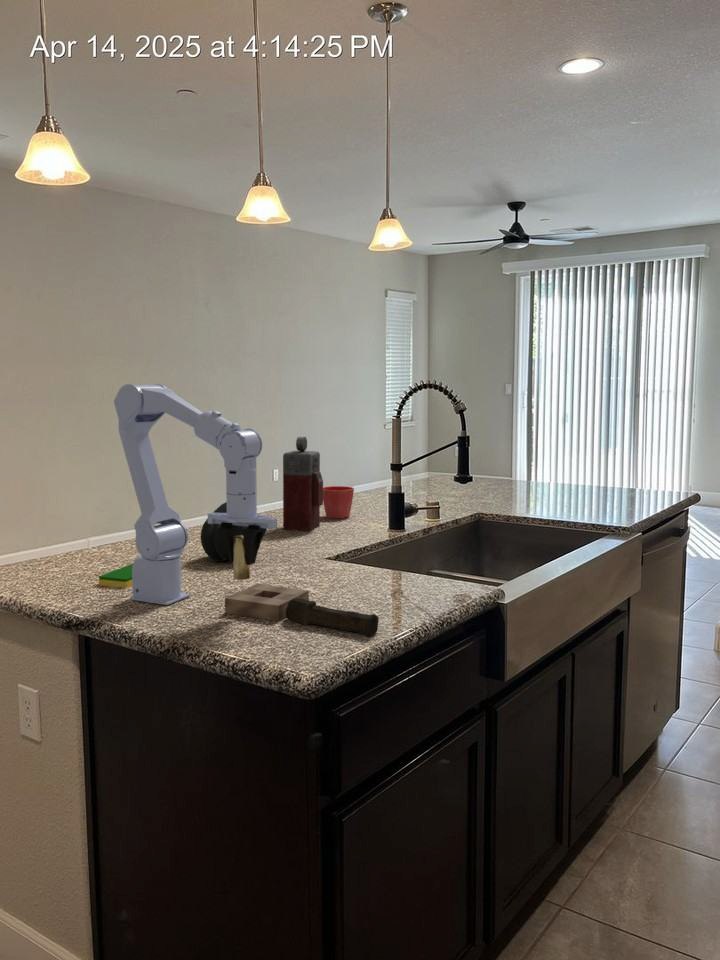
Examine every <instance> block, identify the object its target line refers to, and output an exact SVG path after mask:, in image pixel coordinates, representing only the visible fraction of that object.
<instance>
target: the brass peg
mask: <svg viewBox="0 0 720 960" xmlns="http://www.w3.org/2000/svg"><path fill="white" fill-rule="evenodd" d="M232 564H233V570H232V571H233V572H232V573H233V576H232V577H233V579H234V580H237V581H239V580H240V581H243V580H244V581H245V580H249V579H251V565H247V564H246V549H245V542H244V537H243V535H238V536H234V537H233V563H232Z"/></svg>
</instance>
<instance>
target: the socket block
mask: <svg viewBox="0 0 720 960" xmlns="http://www.w3.org/2000/svg"><path fill="white" fill-rule="evenodd" d="M309 595H310V591H309V589H308V590H306V589H298V588H291V587H284V586H277V585H269V584H260V583H257V584H254V585H252V586H249V587H247V588H245V589H242V590H241V591H238V592H235V593H234V594H231V595H229V596H226V597H225V598H224V613H225V614H228V615H236V616H242V617H248V618H254V619H255V618H256V619H261V620H267V621H275V622H281V621H282V620H285V619H287V618H286V608H287V606H288V603H289V602H290V600H292V599H293V598H297V599H304V600H308V601H310V599H309V597H310V596H309Z"/></svg>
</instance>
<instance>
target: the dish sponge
mask: <svg viewBox="0 0 720 960" xmlns="http://www.w3.org/2000/svg"><path fill="white" fill-rule="evenodd" d="M132 567H133V563H130V564H128V565H126V566H122V567H119V568H117V569H115V570H112V571H110V572H109V571H108V572H106V573H104V574H102V575H99V576H98V586H100V585H101V586H102V587H112V588H123V589H126V588H130V587H131V586H132Z"/></svg>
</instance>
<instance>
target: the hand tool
mask: <svg viewBox="0 0 720 960" xmlns="http://www.w3.org/2000/svg"><path fill="white" fill-rule="evenodd" d="M285 619H287V620H289V621H291V622H292V623H295V624H299V625H303V626H312V625H320V626H323V627H324V626H325V627H330V628H335V629H340V630H343V631H349V632H354V633H357V634H365V635H366V636H367V638H371V637H373V636H375V635H376V634H377V632H378V627H379V622H380V621H379V616H378V615H377V614H376V613H373V614H365V613H362V612H361V613H360V612H356V611H351V610H348V611H346V610H341V609H337V608H336V609H335V608H330V607H325V606H321V605H317V602H316V601H314V600H309V601H308V600H304V599H297V598H293V599H292V600H290V602H289V603H288V606H287V608H286V618H285Z"/></svg>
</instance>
